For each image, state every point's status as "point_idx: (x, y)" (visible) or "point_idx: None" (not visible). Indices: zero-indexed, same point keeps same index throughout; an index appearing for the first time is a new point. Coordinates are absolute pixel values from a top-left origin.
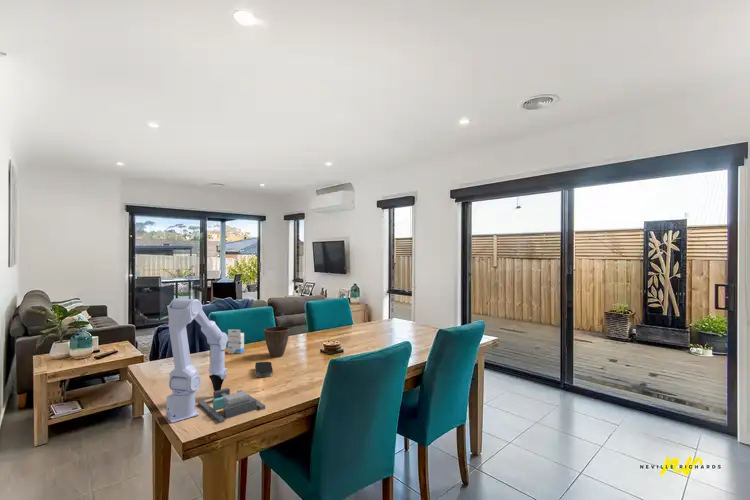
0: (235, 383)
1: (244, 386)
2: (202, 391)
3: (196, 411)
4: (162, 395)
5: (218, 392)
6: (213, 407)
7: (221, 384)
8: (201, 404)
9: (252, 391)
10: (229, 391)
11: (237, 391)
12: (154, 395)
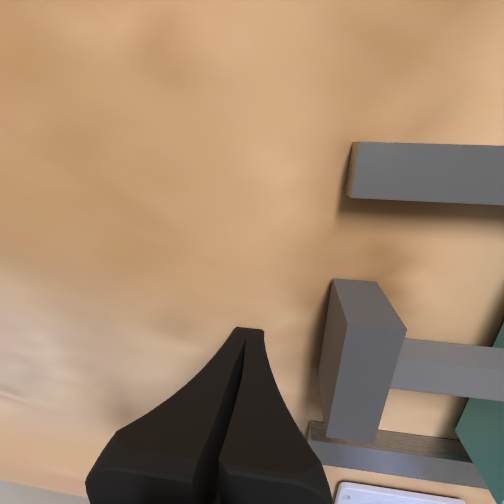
0: (35, 56)
1: (188, 9)
2: (95, 342)
3: (422, 500)
4: (48, 468)
5: (377, 418)
6: (465, 438)
7: (272, 379)
8: (370, 470)
9: (426, 4)
10: (395, 315)
11: (359, 195)
12: (31, 482)
